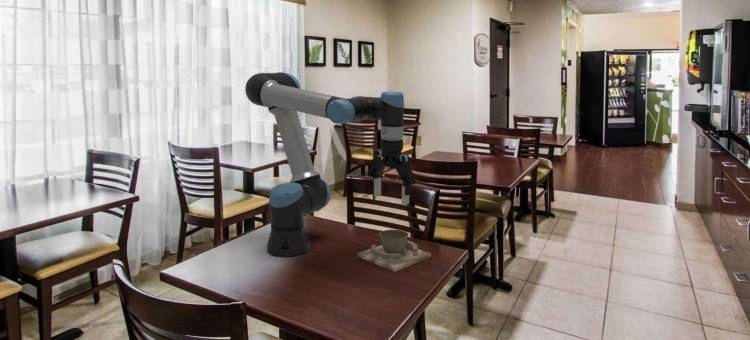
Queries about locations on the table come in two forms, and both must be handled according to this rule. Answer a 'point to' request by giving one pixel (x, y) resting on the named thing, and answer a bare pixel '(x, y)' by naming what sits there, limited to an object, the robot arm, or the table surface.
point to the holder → (394, 256)
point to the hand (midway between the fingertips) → (391, 200)
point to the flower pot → (393, 241)
